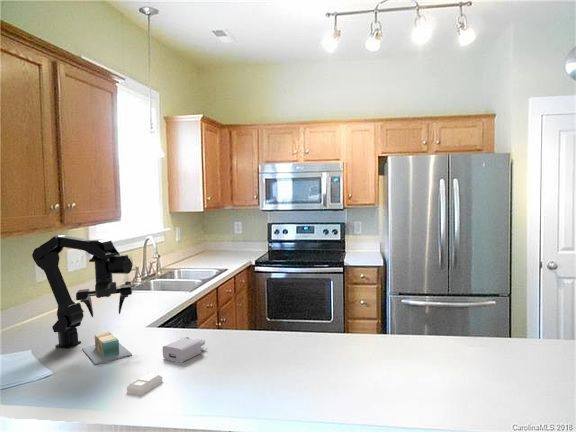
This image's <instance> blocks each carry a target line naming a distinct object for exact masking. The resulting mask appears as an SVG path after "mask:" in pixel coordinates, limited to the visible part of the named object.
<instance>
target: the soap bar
mask: <svg viewBox="0 0 576 432" xmlns="http://www.w3.org/2000/svg"><path fill="white" fill-rule="evenodd" d="M162 382H163V376H162V375H159V374H156V373H155V374H154V373H149V372H148V373H146V374H145V375H143V376H141V377H139V378H138V379H136V380H134V381H133V382H131V383H130V384H129V385H128V386H127V387H126V393H128V394H132V395H137V396H138V395H139V396H142V395H143V394H146V393H147V392H148V391H150V390H151V389H153V388H155V387H156V386H158V385H159V384H161V383H162Z"/></svg>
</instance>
